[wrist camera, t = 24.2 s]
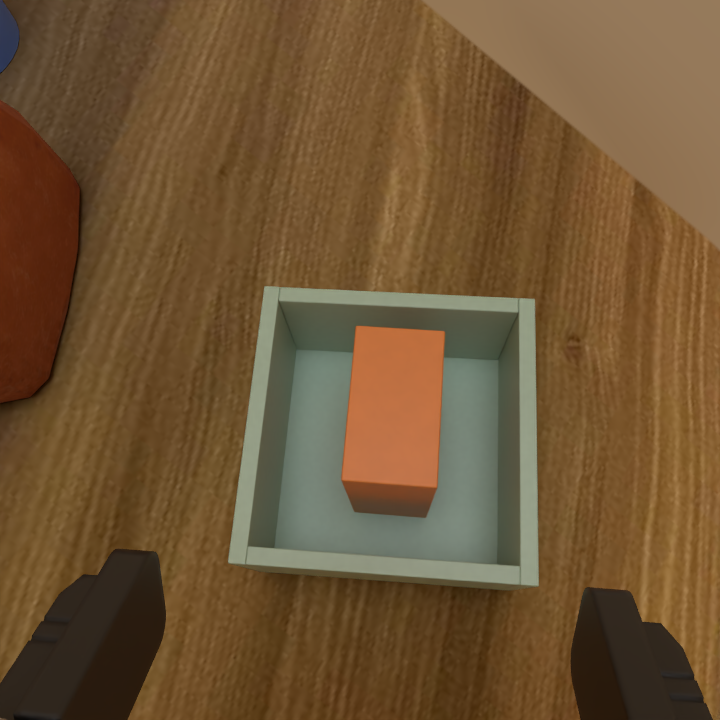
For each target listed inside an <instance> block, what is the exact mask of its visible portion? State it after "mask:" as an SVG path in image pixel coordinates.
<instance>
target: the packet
mask: <svg viewBox="0 0 720 720" xmlns="http://www.w3.org/2000/svg"><path fill="white" fill-rule="evenodd" d="M444 345H445V332H444V331H435V330H419V329H403V328H387V327H371V326H356V327H355V338H354V348H353V359H352V369H351V380H350V390H349V400H348V411H347V421H346V432H345V442H344V453H343V463H342V474H341V481H342V483H343V486H344V488H345V490H346V493H347V495H348V498H349V500H350V503H351V505H352V508H353V510H354V512H359V513H371V514H383V515H396V516H408V517H420V518H426V517H427V514H428V512H429V509H430V506H431V503H432V501H433V498H434V495H435V493H436V490H437V487H438V470H439V449H440V428H441V408H442V387H443V366H444Z"/></svg>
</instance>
